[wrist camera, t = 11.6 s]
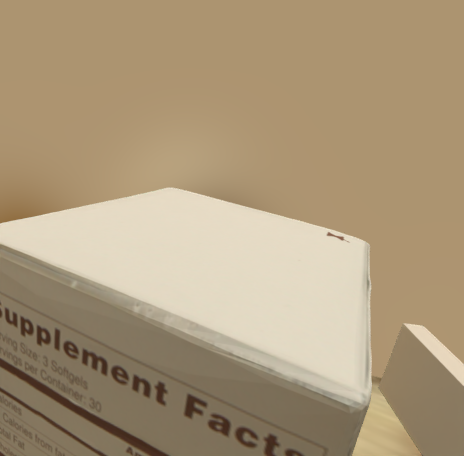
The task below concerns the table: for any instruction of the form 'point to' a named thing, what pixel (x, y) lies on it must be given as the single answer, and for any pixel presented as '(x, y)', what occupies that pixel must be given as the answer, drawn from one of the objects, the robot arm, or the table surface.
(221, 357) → the supplement box
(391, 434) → the table surface
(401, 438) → the table surface
